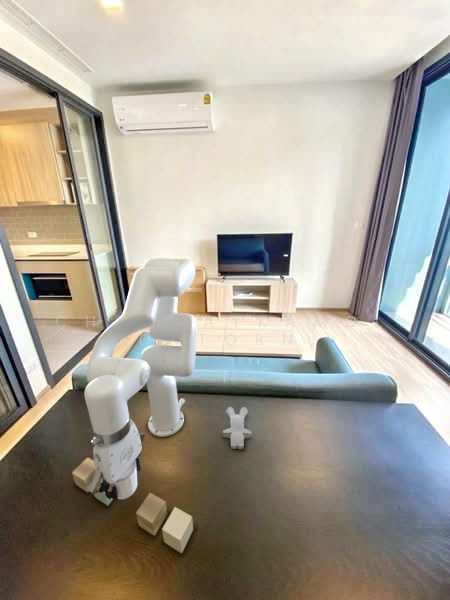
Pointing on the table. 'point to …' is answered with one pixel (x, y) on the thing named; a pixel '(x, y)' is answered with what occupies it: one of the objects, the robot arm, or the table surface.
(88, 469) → the block
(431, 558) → the table surface
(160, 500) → the block
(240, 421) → the bunny figurine
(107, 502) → the block
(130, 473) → the white cylinder
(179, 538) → the block
